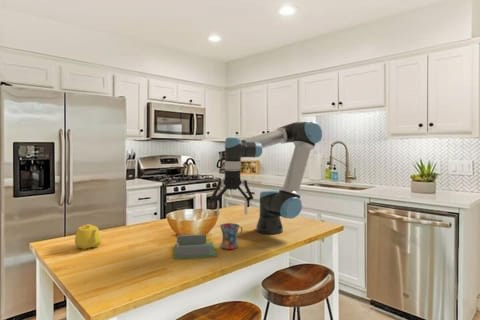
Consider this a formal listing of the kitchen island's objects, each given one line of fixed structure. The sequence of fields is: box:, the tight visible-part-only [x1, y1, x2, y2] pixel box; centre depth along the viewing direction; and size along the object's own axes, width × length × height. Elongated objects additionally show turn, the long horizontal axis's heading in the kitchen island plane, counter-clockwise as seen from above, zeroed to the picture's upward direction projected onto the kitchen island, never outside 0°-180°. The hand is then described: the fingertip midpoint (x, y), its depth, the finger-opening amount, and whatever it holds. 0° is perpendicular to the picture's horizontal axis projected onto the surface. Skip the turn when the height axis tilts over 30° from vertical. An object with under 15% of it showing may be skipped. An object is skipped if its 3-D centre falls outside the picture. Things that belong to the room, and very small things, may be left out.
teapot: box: [74, 223, 102, 251], centre depth 153 cm, size 18×11×11 cm, turn 42°
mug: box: [219, 222, 243, 250], centre depth 155 cm, size 12×9×11 cm
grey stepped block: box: [174, 233, 217, 260], centre depth 149 cm, size 18×18×5 cm
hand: (231, 214), depth 155 cm, fingers open, 13 cm apart
